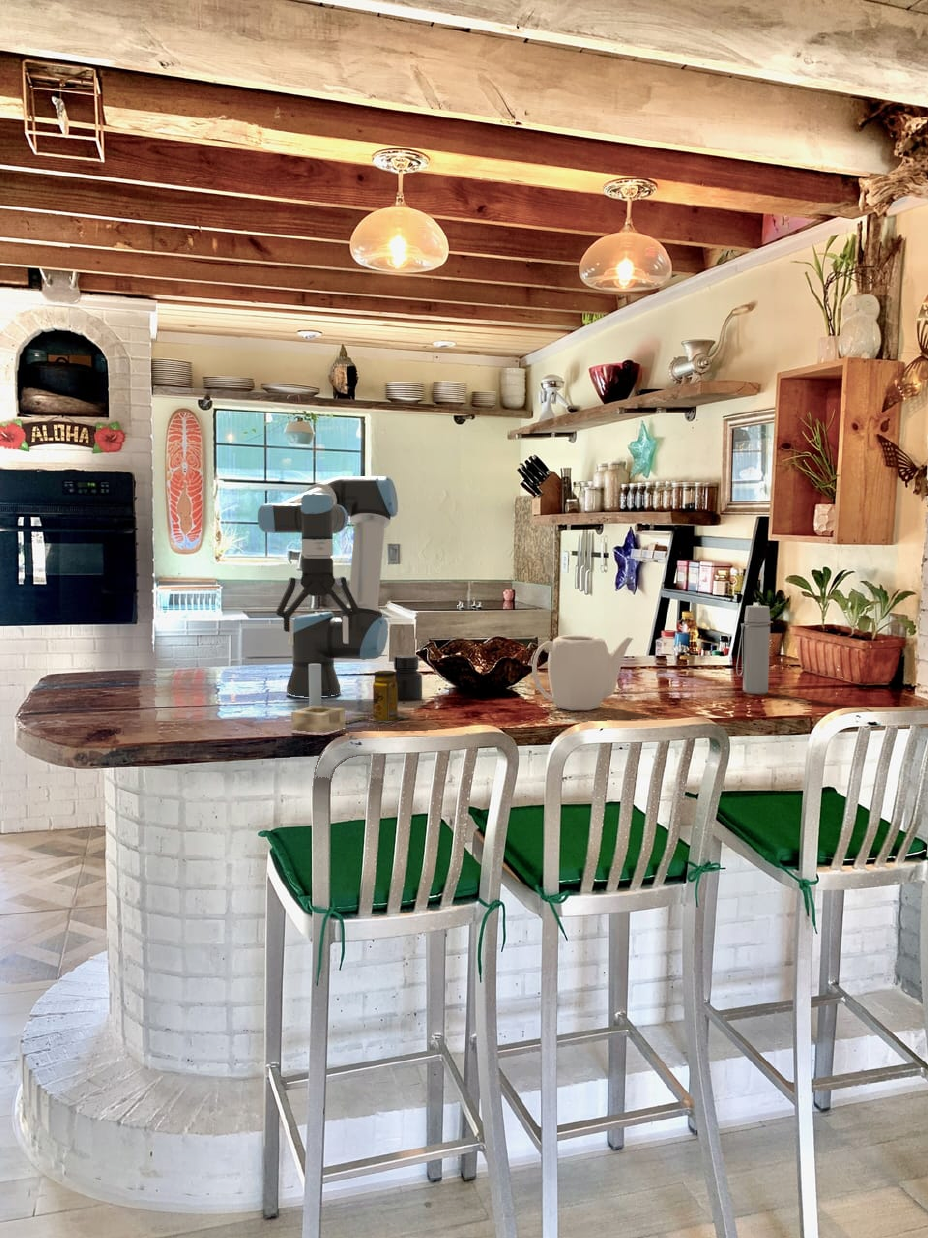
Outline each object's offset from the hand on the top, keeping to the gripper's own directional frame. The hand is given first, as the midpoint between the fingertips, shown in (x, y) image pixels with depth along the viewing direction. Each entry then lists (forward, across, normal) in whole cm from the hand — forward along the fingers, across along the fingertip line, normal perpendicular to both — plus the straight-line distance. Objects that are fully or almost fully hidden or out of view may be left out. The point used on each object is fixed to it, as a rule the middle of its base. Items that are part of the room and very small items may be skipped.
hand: (318, 644), depth 237 cm
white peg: (+19, -1, 0) cm, 19 cm away
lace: (+19, +7, -5) cm, 21 cm away
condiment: (+19, +17, -4) cm, 26 cm away
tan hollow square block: (+19, -3, -13) cm, 23 cm away
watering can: (+19, +69, -6) cm, 72 cm away
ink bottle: (+19, +28, +21) cm, 40 cm away
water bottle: (+19, +126, -2) cm, 127 cm away
